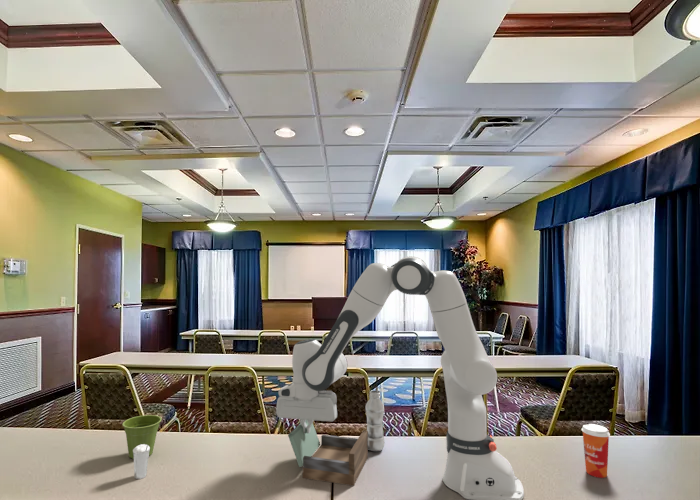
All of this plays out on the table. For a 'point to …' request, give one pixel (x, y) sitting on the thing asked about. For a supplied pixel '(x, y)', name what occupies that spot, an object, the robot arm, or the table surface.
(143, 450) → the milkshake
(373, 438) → the plastic bottle
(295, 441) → the panel
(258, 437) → the table surface
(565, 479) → the table surface
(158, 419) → the plant pot
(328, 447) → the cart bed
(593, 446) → the paper cup
